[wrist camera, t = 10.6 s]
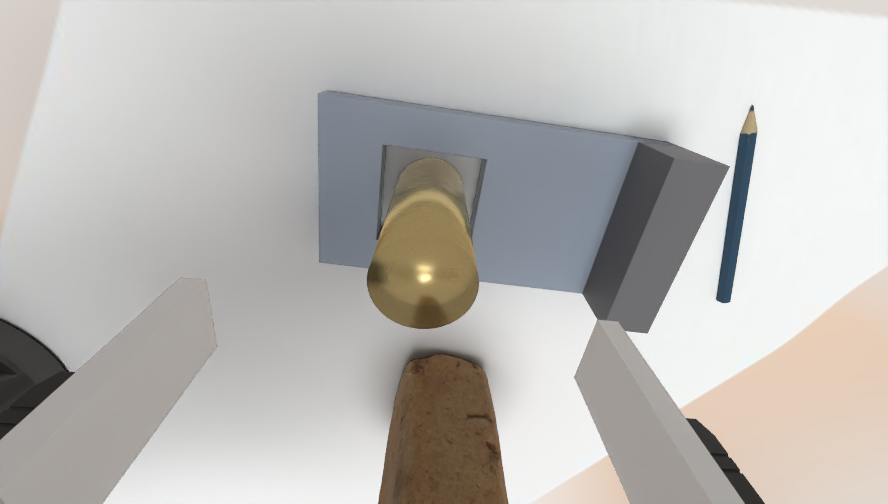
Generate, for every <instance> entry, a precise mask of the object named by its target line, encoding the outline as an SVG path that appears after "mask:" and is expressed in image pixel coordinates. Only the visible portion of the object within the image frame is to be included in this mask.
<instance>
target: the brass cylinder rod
mask: <svg viewBox="0 0 888 504" xmlns="http://www.w3.org/2000/svg"><path fill="white" fill-rule="evenodd" d="M367 286H368V291H369V294H370V297H371V299H372V301H373V303H374V304H375V306H376V307H377V308H378V309H379V310H380V311H381V312H382V313H383V314H384V315H385V316H386V317H388V318H389V319H391V320H392V321H394V322H396V323H398V324H401V325H403V326H407V327H411V328H417V329H431V328H437V327H441V326H445V325H447V324H450V323H452V322H454V321H456V320H457V319H459V318H460V317H461V316H463V315H464V314H465V313H466V312H467V311H468V310H469V308H470V307H471V306H472V304H473V303H474V301H475V298H476V296H477V293H478V287H479V277H478V271H477V265H476V259H475V253H474V248H473V242H472V236H471V230H470V224H469V218H468V212H467V206H466V200H465V194H464V188H463V183H462V180H461V177H460V175H459V173H458V172H457V171H456V169H455V168H454V167H453V166H451V165H450V164H449V163H447V162H445V161H443V160H440V159H437V158H422V159H419V160H416V161H414V162H412V163H411V164H409V165H408V166H407V167H406V168H405V169H404V170H403V171H402V173H401V175H400V177H399V179H398V182H397V185H396V188H395V191H394V194H393V197H392V200H391V203H390V206H389V209H388V212H387V215H386V218H385V221H384V224H383V227H382V230H381V233H380V236H379V240H378V243H377V246H376V249H375V252H374V255H373V258H372V261H371V264H370V267H369V270H368V275H367Z"/></svg>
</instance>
